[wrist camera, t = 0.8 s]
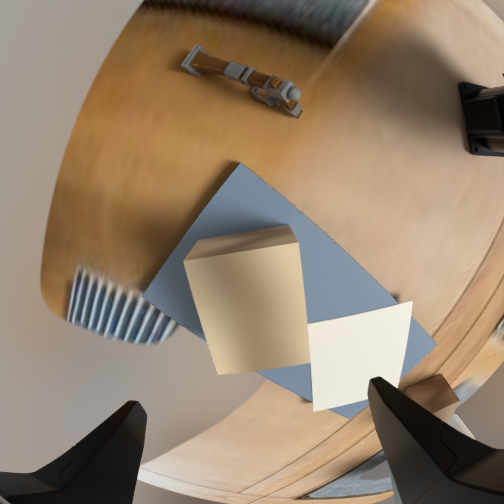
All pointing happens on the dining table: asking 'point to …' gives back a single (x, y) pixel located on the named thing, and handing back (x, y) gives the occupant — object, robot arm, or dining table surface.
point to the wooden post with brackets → (247, 79)
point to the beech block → (251, 299)
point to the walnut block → (435, 396)
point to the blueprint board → (307, 300)
